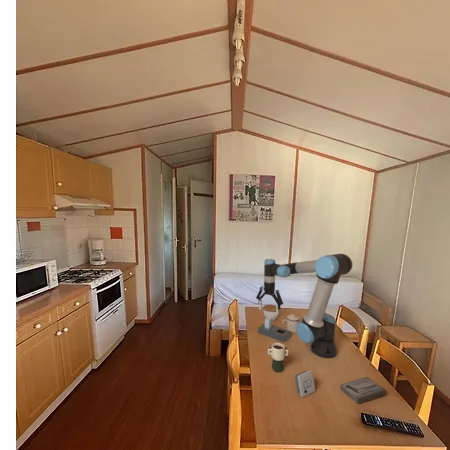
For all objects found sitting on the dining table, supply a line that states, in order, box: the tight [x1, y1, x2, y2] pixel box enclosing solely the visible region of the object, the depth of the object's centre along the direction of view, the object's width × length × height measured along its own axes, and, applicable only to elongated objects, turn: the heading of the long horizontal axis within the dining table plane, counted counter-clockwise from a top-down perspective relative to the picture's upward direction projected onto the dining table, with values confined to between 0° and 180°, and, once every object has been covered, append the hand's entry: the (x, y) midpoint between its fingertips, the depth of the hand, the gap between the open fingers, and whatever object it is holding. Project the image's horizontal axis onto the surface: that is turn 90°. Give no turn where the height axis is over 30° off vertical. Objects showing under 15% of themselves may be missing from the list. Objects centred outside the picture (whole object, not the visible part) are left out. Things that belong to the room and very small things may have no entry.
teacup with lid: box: [282, 313, 300, 333], centre depth 186 cm, size 12×9×12 cm
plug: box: [264, 317, 273, 329], centre depth 181 cm, size 4×4×10 cm
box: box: [339, 376, 387, 405], centre depth 123 cm, size 11×17×3 cm, turn 109°
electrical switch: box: [294, 370, 316, 398], centre depth 123 cm, size 9×5×9 cm, turn 121°
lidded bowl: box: [262, 304, 280, 321], centre depth 204 cm, size 13×13×11 cm
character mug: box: [267, 342, 289, 373], centre depth 139 cm, size 11×7×13 cm, turn 85°
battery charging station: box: [257, 322, 292, 343], centre depth 178 cm, size 20×10×5 cm, turn 51°
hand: (269, 311), depth 180 cm, fingers open, 13 cm apart
